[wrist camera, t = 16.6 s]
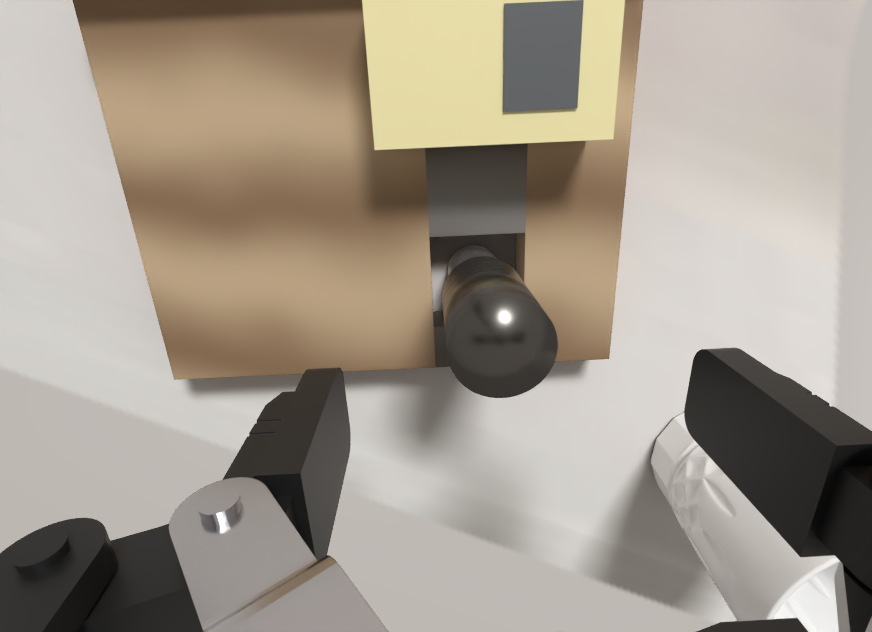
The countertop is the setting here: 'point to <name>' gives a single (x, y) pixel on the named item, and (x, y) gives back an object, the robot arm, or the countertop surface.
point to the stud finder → (492, 71)
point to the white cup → (741, 540)
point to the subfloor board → (328, 192)
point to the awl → (494, 326)
